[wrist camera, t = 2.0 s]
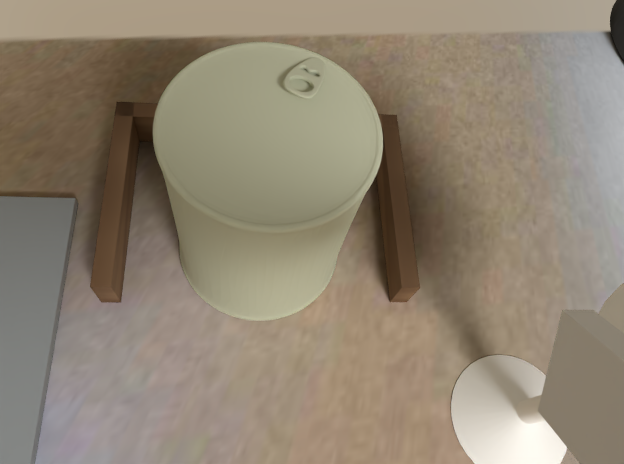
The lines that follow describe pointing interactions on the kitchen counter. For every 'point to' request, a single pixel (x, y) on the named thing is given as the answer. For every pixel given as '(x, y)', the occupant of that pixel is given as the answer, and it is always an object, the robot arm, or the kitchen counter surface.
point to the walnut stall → (120, 188)
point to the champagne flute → (511, 406)
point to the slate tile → (29, 313)
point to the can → (264, 172)
